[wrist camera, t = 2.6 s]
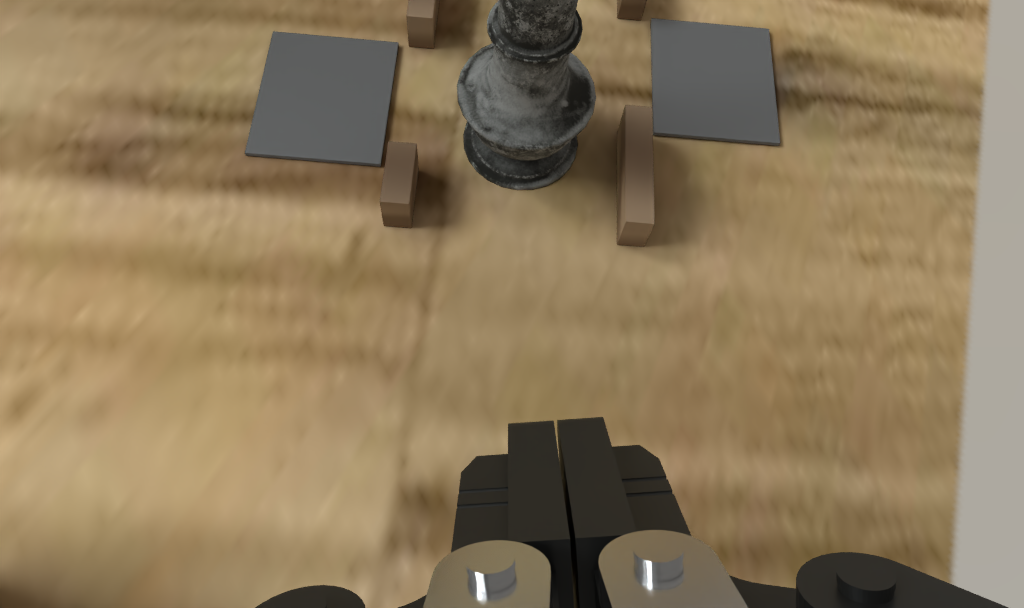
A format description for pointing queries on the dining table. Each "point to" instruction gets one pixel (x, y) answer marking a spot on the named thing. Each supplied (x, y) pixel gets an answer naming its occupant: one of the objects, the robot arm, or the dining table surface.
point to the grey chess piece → (526, 94)
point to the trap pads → (370, 73)
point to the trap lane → (631, 147)
